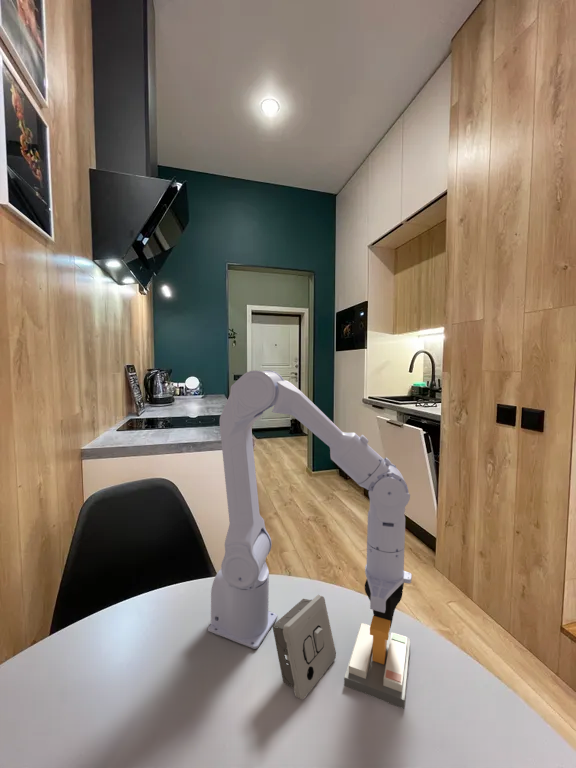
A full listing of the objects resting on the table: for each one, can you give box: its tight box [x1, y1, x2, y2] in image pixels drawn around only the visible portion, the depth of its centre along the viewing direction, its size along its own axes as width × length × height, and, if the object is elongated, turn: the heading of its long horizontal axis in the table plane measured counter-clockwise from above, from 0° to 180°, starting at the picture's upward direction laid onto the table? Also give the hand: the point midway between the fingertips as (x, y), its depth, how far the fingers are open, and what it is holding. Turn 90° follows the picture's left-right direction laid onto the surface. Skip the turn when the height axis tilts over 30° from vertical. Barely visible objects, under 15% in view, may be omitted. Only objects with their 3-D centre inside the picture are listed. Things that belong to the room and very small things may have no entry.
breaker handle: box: [370, 615, 391, 665], centre depth 51 cm, size 3×3×5 cm
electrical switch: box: [272, 594, 337, 700], centre depth 50 cm, size 9×5×9 cm, turn 141°
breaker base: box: [343, 622, 411, 709], centre depth 51 cm, size 8×11×2 cm
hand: (383, 626), depth 55 cm, fingers closed
